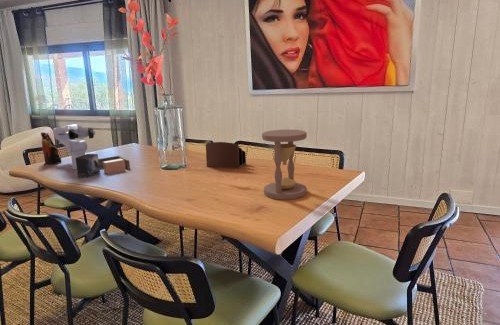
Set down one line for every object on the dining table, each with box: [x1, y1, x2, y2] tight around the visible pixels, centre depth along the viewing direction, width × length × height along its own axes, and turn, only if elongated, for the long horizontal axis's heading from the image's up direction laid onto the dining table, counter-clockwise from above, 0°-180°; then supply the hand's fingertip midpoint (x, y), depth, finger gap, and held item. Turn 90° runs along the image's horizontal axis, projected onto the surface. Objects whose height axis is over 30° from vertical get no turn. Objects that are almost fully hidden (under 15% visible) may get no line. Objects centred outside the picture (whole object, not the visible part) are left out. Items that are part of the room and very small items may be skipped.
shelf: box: [98, 155, 131, 170], centre depth 194 cm, size 17×14×5 cm
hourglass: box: [261, 129, 308, 201], centre depth 138 cm, size 18×18×25 cm
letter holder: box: [205, 141, 247, 170], centre depth 189 cm, size 10×20×14 cm, turn 68°
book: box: [102, 159, 126, 174], centre depth 188 cm, size 5×10×6 cm, turn 128°
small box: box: [75, 153, 101, 178], centre depth 182 cm, size 11×6×10 cm, turn 168°
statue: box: [40, 131, 62, 165], centre depth 214 cm, size 12×8×20 cm, turn 49°
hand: (85, 135), depth 180 cm, fingers open, 7 cm apart
